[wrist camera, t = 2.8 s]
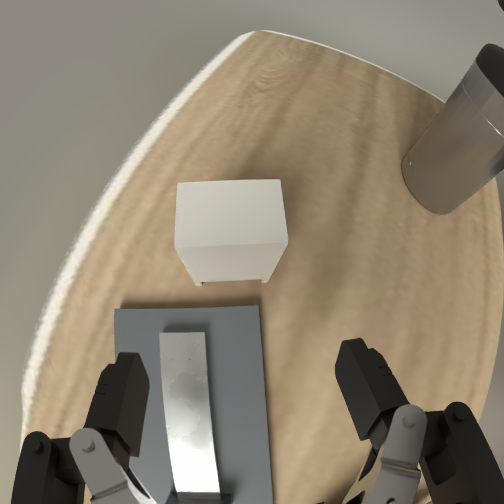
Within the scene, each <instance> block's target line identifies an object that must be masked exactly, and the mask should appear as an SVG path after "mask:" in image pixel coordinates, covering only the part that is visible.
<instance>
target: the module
mask: <svg viewBox="0 0 504 504" xmlns="http://www.w3.org/2000/svg"><path fill="white" fill-rule="evenodd" d="M287 245H288V234H287V226H286V219H285V211H284V204H283V196H282V189H281V182H280V179H263V180H224V181H203V182H186V183H178V185H177V201H176V220H175V249H176V251H177V253H178V255H179V257H180V258H181V260H182V262H183V264H184V266H185V267H186V269H187V271H188V273H189V274H190V276H191V278H192V280H193V281H194V283H195V285H196V286H202V282H214V281H236V280H256V279H261V283H268V281H269V279H270V277H271V275H272V273H273V271H274V269H275V267H276V266H277V264H278V262H279V260H280V258H281V256H282V254H283V252H284V250H285V248H286V247H287Z"/></svg>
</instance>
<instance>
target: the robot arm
mask: <svg viewBox="0 0 504 504" xmlns="http://www.w3.org/2000/svg"><path fill="white" fill-rule="evenodd" d="M498 2H499V5H500V7H501V8H502V9H503V11H504V0H498ZM503 169H504V49H503V48H501V47H499V46H497V45H494V44H486V45H485V46H484V47H483V48H482V49H481V51H480V52H479V54H478V56H477V57H476V59H475V61H474V62H473V64H472V65H471V67H470V68H469V70H468V71H467V73H466V74H465V76H464V77H463V79H462V80H461V82H460V83H459V85H458V86H457V88H456V89H455V91H454V92H453V93H452V95H451V96H450V98H449V99H448V100H447V102H446V103H445V104H444V106H443V107H442V109H441V110H440V111H439V113H438V114H437V115H436V117H435V118H434V119H433V121H432V122H431V123H430V125H429V126H428V127H427V129H426V130H425V131H424V133H423V134H422V135H421V137H420V138H419V139H418V140H417V142H416V143H415V144H414V146H413V147H412V148H411V149H410V151H409V152H408V153H407V155H406V156H405V157H404V159H403V161H402V173H403V177H404V180H405V182H406V184H407V186H408V188H409V189H410V191H411V193H412V194H413V195H414V197H415V198H416V199H417V200H418V201H419V202H420V203H421V204H422V205H423V206H425V207H426V208H427V209H429V210H430V211H432V212H434V213H438V214H448V213H450V212H451V211H453V210H454V209H455V208H457V207H458V206H459V205H461V204H462V203H463V202H464V201H466V200H467V199H468V198H470V197H471V196H472V195H473V194H475V193H476V192H477V191H478V190H480V189H481V188H482V187H483V186H484V185H486V184H487V183H488V182H489V181H490V180H492V179H493V178H494V177H495V176H496V175H497V174H498V173H500V172H501V171H502V170H503ZM335 376H336V379H337V382H338V384H339V387H340V389H341V392H342V394H343V397H344V399H345V402H346V405H347V407H348V410H349V412H350V415H351V417H352V420H353V423H354V425H355V428H356V431H357V433H358V436H359V439H360V441H363V440H366V439H370V441H371V445H370V448H369V450H368V453H367V455H366V458H365V460H364V463H363V465H362V467H361V470H360V472H359V474H358V476H357V479H356V481H355V483H354V485H353V486H352V488H351V489H350V490H349V492H348V493H347V495H346V497H345V498H344V500H343V502H342V504H412V503H413V501H414V498H415V495H416V492H417V488H418V485H419V482H420V478H421V471H420V470H419V469H418V468H417V466H418V462H419V464H420V467H421V470H422V473H423V475H424V478H425V481H426V484H427V487H428V490H429V493H430V496H431V499H432V502H433V504H504V479H503V476H502V474H501V471H500V469H499V467H498V464H497V462H496V460H495V458H494V455H493V453H492V451H491V449H490V447H489V445H488V443H487V441H486V439H485V436H484V435H483V432H482V430H481V429H480V427H479V425H478V423H477V421H476V419H475V417H474V415H473V413H472V411H471V410H470V408H469V407H468V406H467V405H466V404H464V403H462V402H453V403H451V404H449V405H448V406H447V407H446V409H445V410H444V411H430V412H424V411H423V410H422V409H421V408H420V407H418V406H416V405H411V404H410V403H409V402H408V400H407V398H406V396H405V395H404V393H403V391H402V389H401V387H400V385H399V384H398V382H397V380H396V378H395V377H394V375H392V371H391V370H390V368H389V367H388V364H387V363H386V361H385V359H384V357H383V356H382V355H381V354H380V353H379V352H377V351H376V350H375V349H374V348H371V349H368V348H367V346H366V344H365V342H364V341H363V339H362V338H356V339H350V340H344V341H343V342H342V343H341V347H340V350H339V354H338V357H337V361H336V364H335ZM149 389H150V383H149V377H148V374H147V372H146V369H145V367H144V364H143V362H142V359H141V356H140V354H139V353H138V352H120V353H119V354H118V356H117V359H116V362H115V364H108V365H107V367H106V368H105V369H104V370H103V371H102V372H101V375H100V378H99V381H98V386H97V387H96V390H95V394H94V396H93V399H92V402H91V405H90V409H89V412H88V415H87V419H86V422H85V425H84V427H83V428H82V429H79V430H77V431H76V432H75V433H74V434H73V435H72V437H69V438H57V439H50V438H49V437H48V436H47V435H46V434H44V433H42V432H39V431H35V432H32V433H30V434H28V435H27V437H26V438H25V440H24V442H23V446H22V450H21V454H20V458H19V462H18V466H17V471H16V476H15V481H14V487H13V492H12V499H11V504H83V502H84V491H85V484H86V485H87V486H88V488H89V490H90V492H91V494H92V498H91V499H90V501H91V504H157V503H156V502H155V500H154V499H153V498H152V497H151V495H150V494H149V493H148V491H147V490H146V489H145V487H144V486H143V484H142V483H141V482H140V480H139V479H138V477H137V476H136V474H135V473H134V471H133V470H132V468H131V467H130V465H129V461H130V456H131V457H139V454H140V446H141V439H142V432H143V425H144V419H145V413H146V407H147V401H148V395H149ZM317 504H324V502H322V503H317Z"/></svg>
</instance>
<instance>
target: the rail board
mask: <svg viewBox="0 0 504 504" xmlns="http://www.w3.org/2000/svg"><path fill="white" fill-rule="evenodd" d="M190 332H205V333H206V345H207V362H208V376H209V389H210V401H211V412H212V423H213V433H214V442H215V451H216V459H217V468H218V475H219V483H220V490H221V494H231V495H232V503H233V504H273V497H272V483H271V469H270V455H269V441H268V427H267V413H266V400H265V386H264V372H263V359H262V345H261V332H260V319H259V305H251V306H232V307H209V308H173V309H115V312H114V334H115V362H116V359H117V356H118V354H119V353H120V352H138V353H139V354H140V356H141V359H142V362H143V364H144V367H145V369H146V372H147V374H148V377H149V383H150V389H149V395H148V401H147V407H146V413H145V419H144V425H143V432H142V439H141V446H140V454H139V457H131V456H130V461H129V465H130V467H131V468H132V470H133V471H134V473H135V474H136V476H137V477H138V479H139V480H140V482H141V483H142V484H143V486H144V487H145V489H146V490H147V491H148V493H149V494H150V495H151V497H152V498H153V499H154V500H155V502H156V503H157V504H165V502H166V500H167V498H168V496H169V494H170V492H177V491H176V486H175V480H174V475H173V469H172V463H171V457H170V451H169V444H168V436H167V429H166V420H165V411H164V401H163V390H162V378H161V362H160V341H159V333H190Z"/></svg>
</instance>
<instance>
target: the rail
mask: <svg viewBox="0 0 504 504" xmlns="http://www.w3.org/2000/svg"><path fill="white" fill-rule="evenodd" d="M159 341H160V362H161V378H162V390H163V401H164V411H165V420H166V429H167V436H168V444H169V451H170V457H171V463H172V469H173V475H174V480H175V486H176V491H177V492H170V494H169V496H168V498H167V500H166V502H165V504H233V503H232V495H231V494H221V490H220V483H219V475H218V468H217V459H216V451H215V442H214V433H213V423H212V412H211V401H210V389H209V376H208V362H207V345H206V333H205V332H190V333H159Z"/></svg>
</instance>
